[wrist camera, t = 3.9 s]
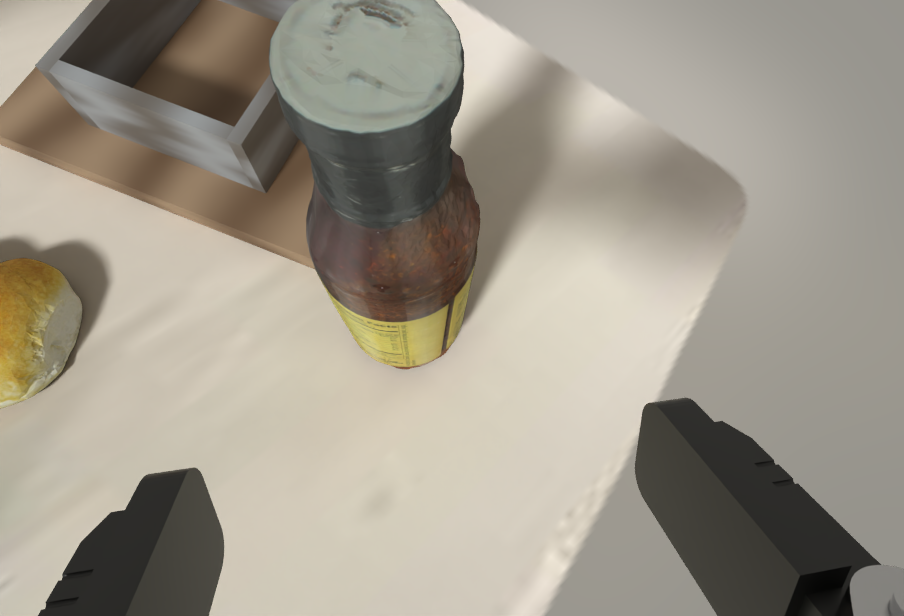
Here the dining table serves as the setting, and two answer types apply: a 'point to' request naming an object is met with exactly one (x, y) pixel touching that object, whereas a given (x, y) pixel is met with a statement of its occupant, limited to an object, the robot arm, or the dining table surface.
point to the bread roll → (34, 327)
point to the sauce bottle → (382, 167)
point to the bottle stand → (173, 115)
